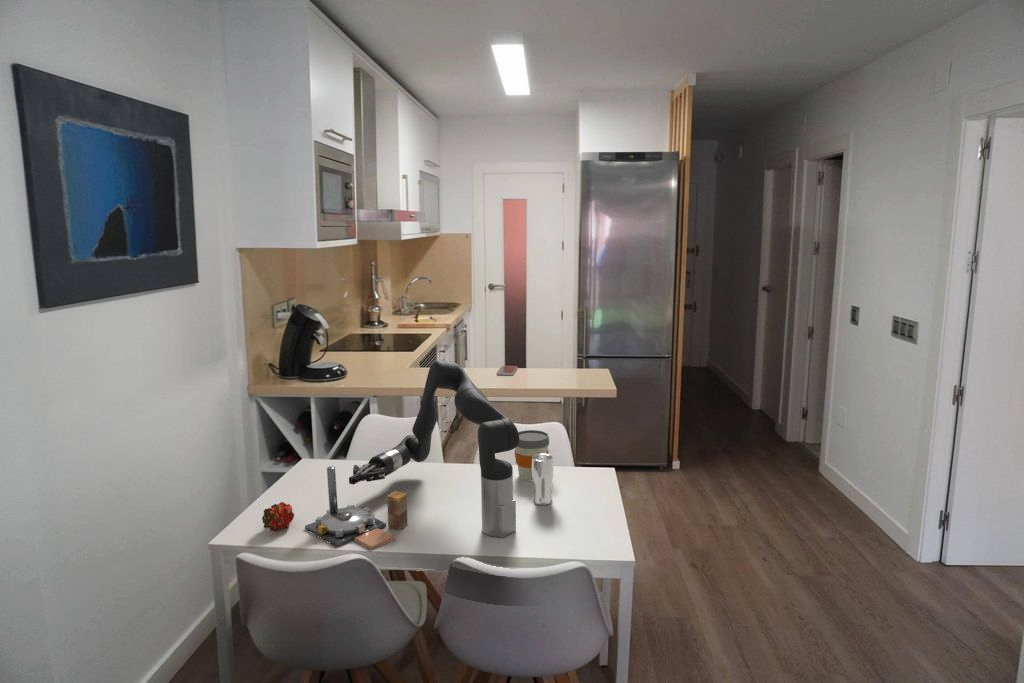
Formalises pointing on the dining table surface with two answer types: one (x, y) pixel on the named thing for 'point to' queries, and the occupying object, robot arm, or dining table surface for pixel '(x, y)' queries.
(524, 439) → the reusable coffee cup
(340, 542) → the sprocket base
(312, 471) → the dining table surface
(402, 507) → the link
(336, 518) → the sprocket
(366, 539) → the salmon brown square slab
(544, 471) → the silver metal cylinder
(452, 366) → the robot arm
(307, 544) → the dining table surface
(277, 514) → the dragon fruit
